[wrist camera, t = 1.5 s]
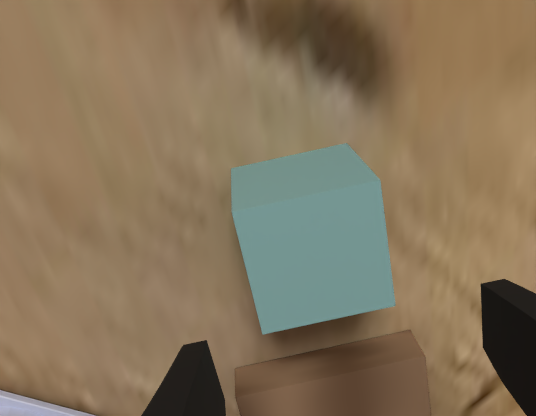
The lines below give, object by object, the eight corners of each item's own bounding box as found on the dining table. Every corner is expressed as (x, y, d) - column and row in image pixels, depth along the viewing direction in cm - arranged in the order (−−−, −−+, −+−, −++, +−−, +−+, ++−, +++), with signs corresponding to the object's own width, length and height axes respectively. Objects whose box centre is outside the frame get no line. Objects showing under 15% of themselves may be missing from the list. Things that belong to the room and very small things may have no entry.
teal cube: (255, 268, 22) (262, 334, 18) (231, 167, 21) (231, 212, 16) (361, 245, 22) (395, 305, 18) (346, 142, 21) (380, 179, 16)
